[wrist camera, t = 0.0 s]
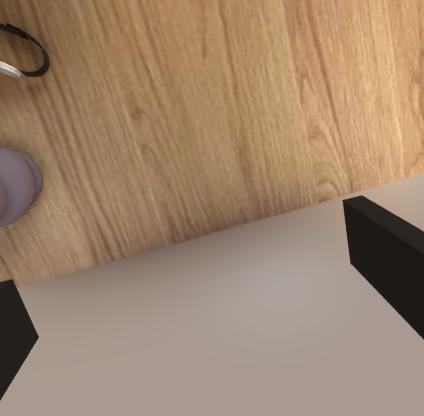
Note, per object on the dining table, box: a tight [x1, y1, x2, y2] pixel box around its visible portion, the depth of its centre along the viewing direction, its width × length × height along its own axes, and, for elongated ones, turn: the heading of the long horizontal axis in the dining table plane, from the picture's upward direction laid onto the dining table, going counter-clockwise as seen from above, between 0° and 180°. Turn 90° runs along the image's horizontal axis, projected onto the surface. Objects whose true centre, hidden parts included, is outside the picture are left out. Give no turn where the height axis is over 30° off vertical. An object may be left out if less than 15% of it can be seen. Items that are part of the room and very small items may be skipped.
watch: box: [0, 23, 49, 78], centre depth 35 cm, size 8×5×4 cm, turn 71°
